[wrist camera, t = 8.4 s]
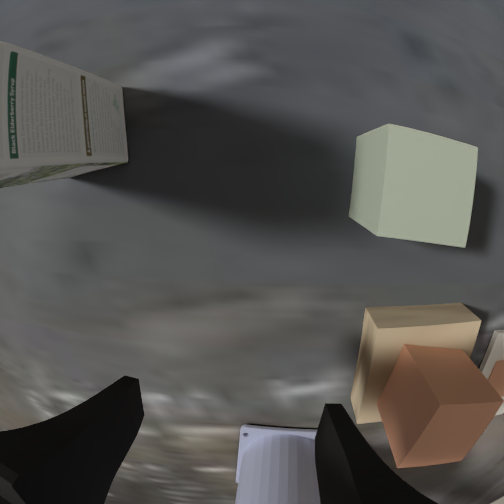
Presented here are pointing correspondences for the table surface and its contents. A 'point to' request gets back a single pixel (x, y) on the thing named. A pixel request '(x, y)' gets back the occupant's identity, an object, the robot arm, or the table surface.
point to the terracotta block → (435, 406)
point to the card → (495, 364)
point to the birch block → (395, 336)
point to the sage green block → (413, 185)
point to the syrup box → (56, 119)
